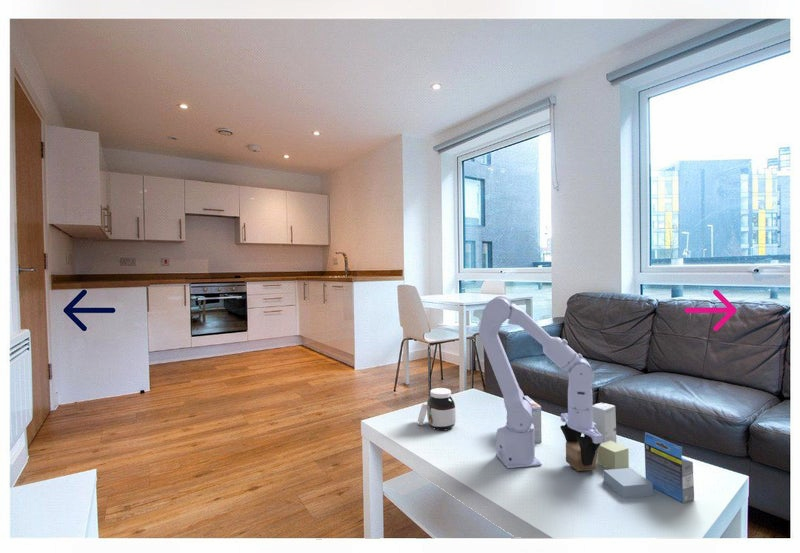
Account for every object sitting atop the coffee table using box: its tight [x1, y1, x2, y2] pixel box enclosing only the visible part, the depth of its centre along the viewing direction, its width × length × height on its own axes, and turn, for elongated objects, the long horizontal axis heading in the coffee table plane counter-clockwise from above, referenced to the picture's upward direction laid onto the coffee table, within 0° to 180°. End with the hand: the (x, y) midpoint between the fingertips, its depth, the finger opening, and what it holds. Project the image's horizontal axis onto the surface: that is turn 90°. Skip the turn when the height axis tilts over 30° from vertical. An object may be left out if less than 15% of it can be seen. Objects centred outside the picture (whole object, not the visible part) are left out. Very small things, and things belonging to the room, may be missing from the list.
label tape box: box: [643, 431, 695, 504], centre depth 88 cm, size 9×4×12 cm, turn 21°
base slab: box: [603, 467, 654, 499], centre depth 89 cm, size 7×7×3 cm
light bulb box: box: [524, 395, 543, 444], centre depth 119 cm, size 11×7×11 cm, turn 5°
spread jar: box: [417, 387, 457, 431], centre depth 128 cm, size 12×11×12 cm
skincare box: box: [593, 402, 617, 452], centre depth 109 cm, size 6×4×12 cm
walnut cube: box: [565, 441, 597, 472], centre depth 99 cm, size 5×5×5 cm
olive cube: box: [597, 441, 630, 470], centre depth 100 cm, size 5×5×5 cm
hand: (580, 459), depth 99 cm, fingers closed on walnut cube, 5 cm apart
